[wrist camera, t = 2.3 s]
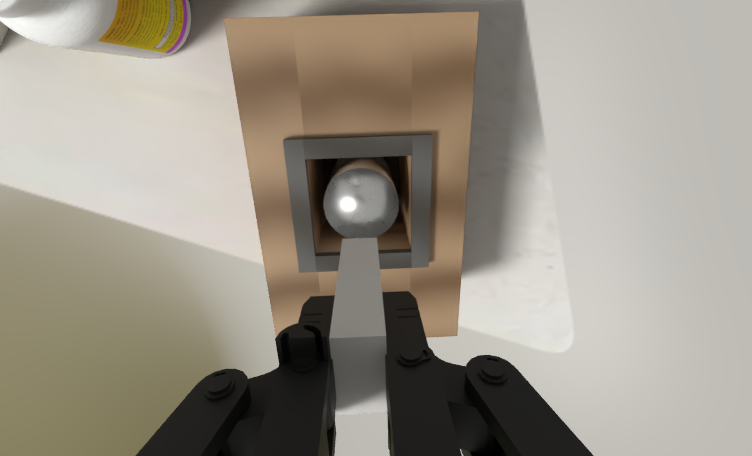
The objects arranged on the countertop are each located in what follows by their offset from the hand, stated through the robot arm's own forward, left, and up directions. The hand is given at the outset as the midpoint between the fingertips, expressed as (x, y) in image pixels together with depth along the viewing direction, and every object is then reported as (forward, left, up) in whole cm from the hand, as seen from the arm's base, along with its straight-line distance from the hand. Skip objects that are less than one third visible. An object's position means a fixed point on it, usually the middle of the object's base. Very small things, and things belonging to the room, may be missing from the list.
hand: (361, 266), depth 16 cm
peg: (0, 0, -17) cm, 17 cm away
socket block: (0, 0, -17) cm, 17 cm away
